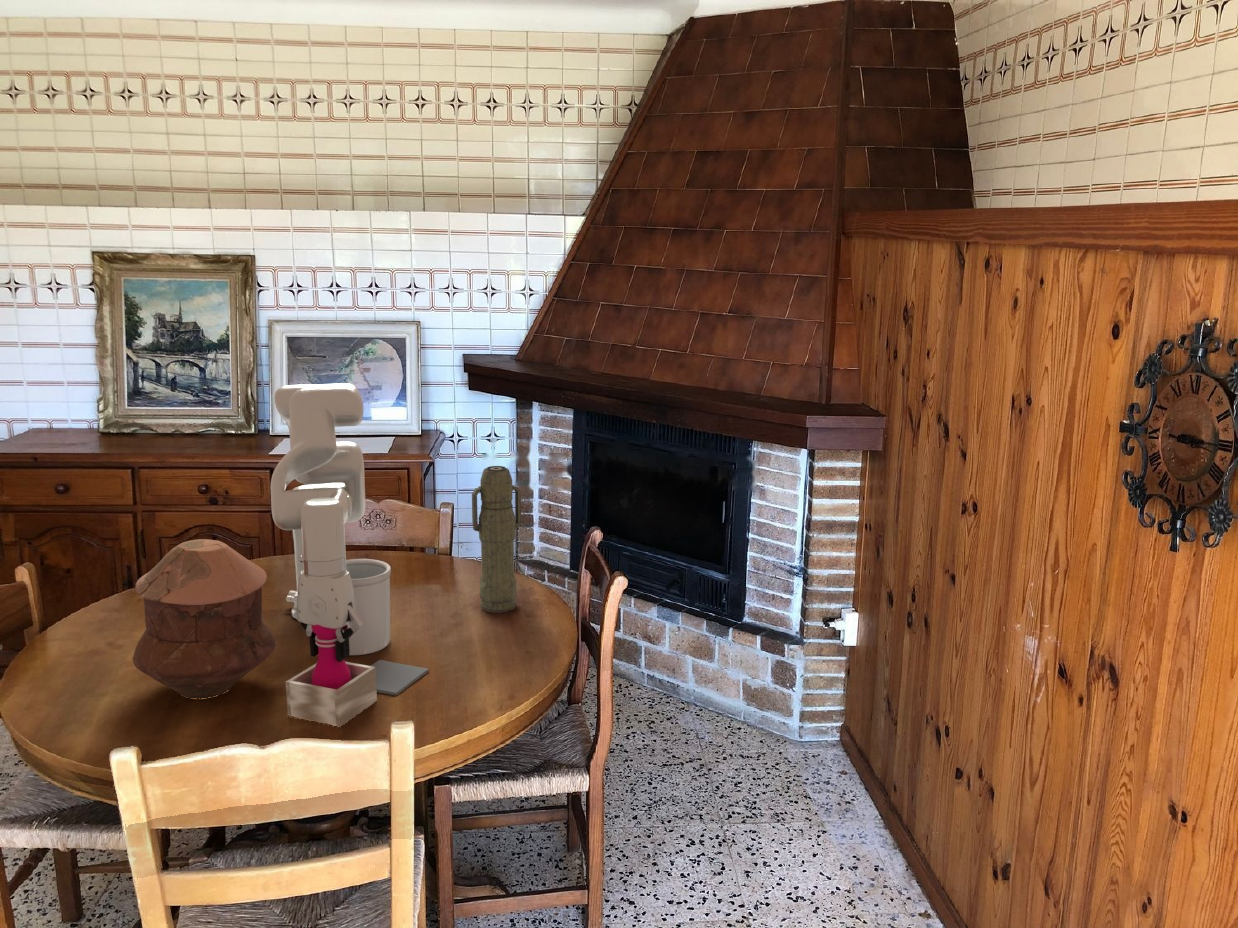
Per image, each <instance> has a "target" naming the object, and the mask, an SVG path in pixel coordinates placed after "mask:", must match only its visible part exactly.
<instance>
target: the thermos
mask: <svg viewBox="0 0 1238 928" xmlns="http://www.w3.org/2000/svg"><path fill="white" fill-rule="evenodd" d="M479 480H480V481H479V482H480V486H478V487H475V488H474V490H473V492H472V493H471V519H472V530H473V531H475V532H478V538H479V540H480V553H481V557H480V558H481V577H480V579H479V598H480V608H481V610H483V611H484V610H485V612H487V613H494V614H495V613H497V614H500V613H507V612H510V611H513V610H514V609H516V607H517V602H516V601H517V600H516V599H517V589H518V588H517V579H516V576H515V547H514V546H515V542H514V541H515V539H516V530H517V528H518V527H520V525H522V491H521V489H520V488H519V487H518V486H517V485H515V484H513V478H512V475H511V472H510V469H509V468H508V467H506V466H502V465H491V466H487V467H486V468H484V469H483V471H482V474H481V477H480V479H479ZM513 491H515V492H514V493H515V494H514V496H515V497H514V498H515V500H514V502H515V513H514V510H513V509H514V508H513V506H514V505H513V499H514V498H513ZM479 493H480V501H481V505H480V512H479V516H478V495H479ZM515 606H516V607H515ZM509 610H510V611H509Z"/></svg>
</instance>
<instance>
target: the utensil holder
mask: <svg viewBox="0 0 1238 928" xmlns="http://www.w3.org/2000/svg"><path fill="white" fill-rule="evenodd" d="M346 571H349V574H350V577H351V582H352V586H353V592H354V599H355V613H356V614H357V615H358V617H359V618H360V620H361V621H362V623H363V626H362V627H361V628H360V629H358V630H357V631H356V632H355V633H354V634H353V635H352V636H351V637H350V638H349V648H350V653H349V656H362V655H368V654H372V653H376V652H379V651H381V650H383V649H385V648H386V647H387V646H388V645H389V644H390V642H391V581H390V580H391V578H390V576H391V572H392V568H391V566H390V564H389V563H387V562H385V561H382V560H378V559H374V558H373V559H370V558H352V559H346ZM348 623H349V626H350V627H351V625H352V624H351V622H348ZM343 633H344V630H343Z"/></svg>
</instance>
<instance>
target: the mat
mask: <svg viewBox="0 0 1238 928" xmlns="http://www.w3.org/2000/svg"><path fill="white" fill-rule="evenodd" d="M370 666H372V667H375V669H376V690H377V693H379V694H386V695H391V696H398V695H399V694H400V693H401V692H403V691H404V690H406V689H407V688H409V687H410V686H411V685H413V684H414V683H415V682H417V681H418V680H419V679H421V678H422V677H423V676H424V675H426V674H427V673H429V668H426V667H420V666H415V665H410V664H405V663H399V662H393V661H388V660H383V659H379V660H377V661H376V662H374V663H372V664H371V665H370Z"/></svg>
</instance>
